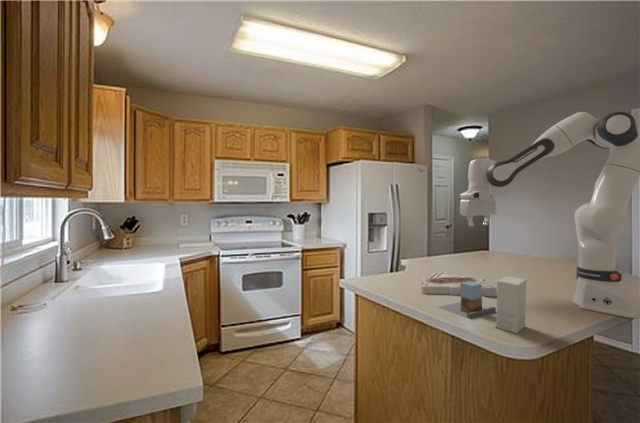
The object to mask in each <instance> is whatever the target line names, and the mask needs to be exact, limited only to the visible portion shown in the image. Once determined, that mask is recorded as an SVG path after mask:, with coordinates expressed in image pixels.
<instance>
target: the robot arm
mask: <svg viewBox="0 0 640 423" xmlns="http://www.w3.org/2000/svg"><path fill="white" fill-rule="evenodd" d="M634 117H635V116H633V115H632V114H630V113H628V112H627V111H614V112H610V113H608V114H606V115H604V116H603V117H601V119H598V118H595V117H594V116H593V115H592V114H591V113H588V112H586V111H578V112H575V113H574V114H572V115H570V116H568V117H566V118H564V119H562V120H560V121H558V122H557V123H556V124H555V123H554V125H552V126H550V128H548V129H547V130H546V131H544V132H543V133H542V134H541V135H539V136H538V137H537V139H536V140H534V142H533V143H531V144H530V145H529V146H528V147H527V148H525V149H523V150H522V151H520V152H519V153H517V154H515V155H514V156H512V157H510V158H509V159H506V160H502V161H495V160H493V159H490V158H489V157H487V156H483V157H477V158H475V159H472V160H471V161H470V162H469V165H468V171H467V172H468V174H467V179H468V186H467V187H468V188H467V190H466V191H464V192H461V193H460V195H459V198H460V199H461V200H460V203H459V214H460V215H461V216H463V217H466V219H467V222H468V226H469V227H474V226H475V221H473V218H474V216H475V217H476V216H484V220H483V221H482V225H483V226H488V225H489V221H490V219H491V216H493V215H496V214H497V202H496V199H495V196H494V195H493V194H491V186H493V187H497V188H503V187H507V186H509V185H510V184H511V183H512V182H513V180H514V179H515V177H516V176H517V175H518V174H519V173H520V172H522V171H524V169H526V168H528V167H529V166H531V165H533V164H534V163H536V162H538V161H540V160H542V159H545V158H551V157H555V156H557V155H560V154H562V153H565V152H566V151H568V150H570V149H572V148H573V147H575V146H576V145H578V144H580V143H581V142H583V141H587V142H589V143H590V144H592V145H594V146H596V147H598V148H599V149H605V150H607V149H608V150H609V155H608V158H607V159H606V162H605V163H604V166H602V167H603V168H602V169H601V172H600V173H599V175H598V177H597V179H596V182H595V183H594V188H593V189H594V190H593V193H592V197H591V199H590V202H587V203H585V204H582V205H581V206H579V207H578V208H577V209H576V210H575V212H574V216H573V217H574V221H575V231H576V238H577V243H578V244H577V246H578V262H577V263H578V264H577V265H578V266H576V272H575V273H576V274H575V275H576V281H577V282H576V288H575V292H574V296H573V298H572V301H571V302H572V303H573V304H575V305H577V306H578V307H579V308H580V309H584V310H588V311H593V312H597V313H602V314H603V313H604V314H608V315H613V316H617V317H622V318H623V317H624V318H628V319H636V320H637V319H640V294H639V293H638V292H637V291H635V290H634V289H633V288H632V287H630V286H628V285H627V284H626V283H625V282H624V281H622V279H623V278H622V277H623V276H624V272H619V270H617V269H616V257H617V255H616V254H617V249H616V246H615V243H614V240H613V235H612V233H615V232H617V231H619V230H621V229H622V228H623V226H624V225H625V223H626V212H627V210H628V206H629V202H630V198H631V196H632V194H633V192H634V190H635V187H636V185H637V184H638V182H639V180H640V139H637V138H638V136H639V135H638V134H639V133H638V129H637V123H636V119H635V118H634Z"/></svg>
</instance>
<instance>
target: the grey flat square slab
mask: <svg viewBox="0 0 640 423" xmlns="http://www.w3.org/2000/svg"><path fill="white" fill-rule="evenodd" d="M437 308H439V309H441V310H444V311H448V312H450V313H452V314H455V315H458V316H461V317H464V318H467V319H473V318H478V317H481V316H485V315H488V314H493V313H495V312H496V313H497V306H491V307H487V308H486V307H482V310H478V311H474V312H470V313H467V312H464V311H461V301H459V302H454V303H450V304H445V305H441V306H437Z"/></svg>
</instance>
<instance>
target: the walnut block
mask: <svg viewBox="0 0 640 423" xmlns="http://www.w3.org/2000/svg"><path fill="white" fill-rule="evenodd" d="M460 302H461V311H464V312H467V313H470V312H474V311H478V310H482V308H483V297H482V298H479V299H475V300H470V299H467V298H463V297H460Z"/></svg>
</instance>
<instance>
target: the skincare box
mask: <svg viewBox="0 0 640 423" xmlns="http://www.w3.org/2000/svg"><path fill="white" fill-rule="evenodd" d="M496 287H497V296H496V329H498V330H502V331H507V332H510V333H514V334H518V333H519V332H520V331H522V330H523V329H524V328H525V327H526V301H527V300H526V299H527V279H525V278H519V277H514V276H504V277H502V278H500V279H499V280H497V286H496Z"/></svg>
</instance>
